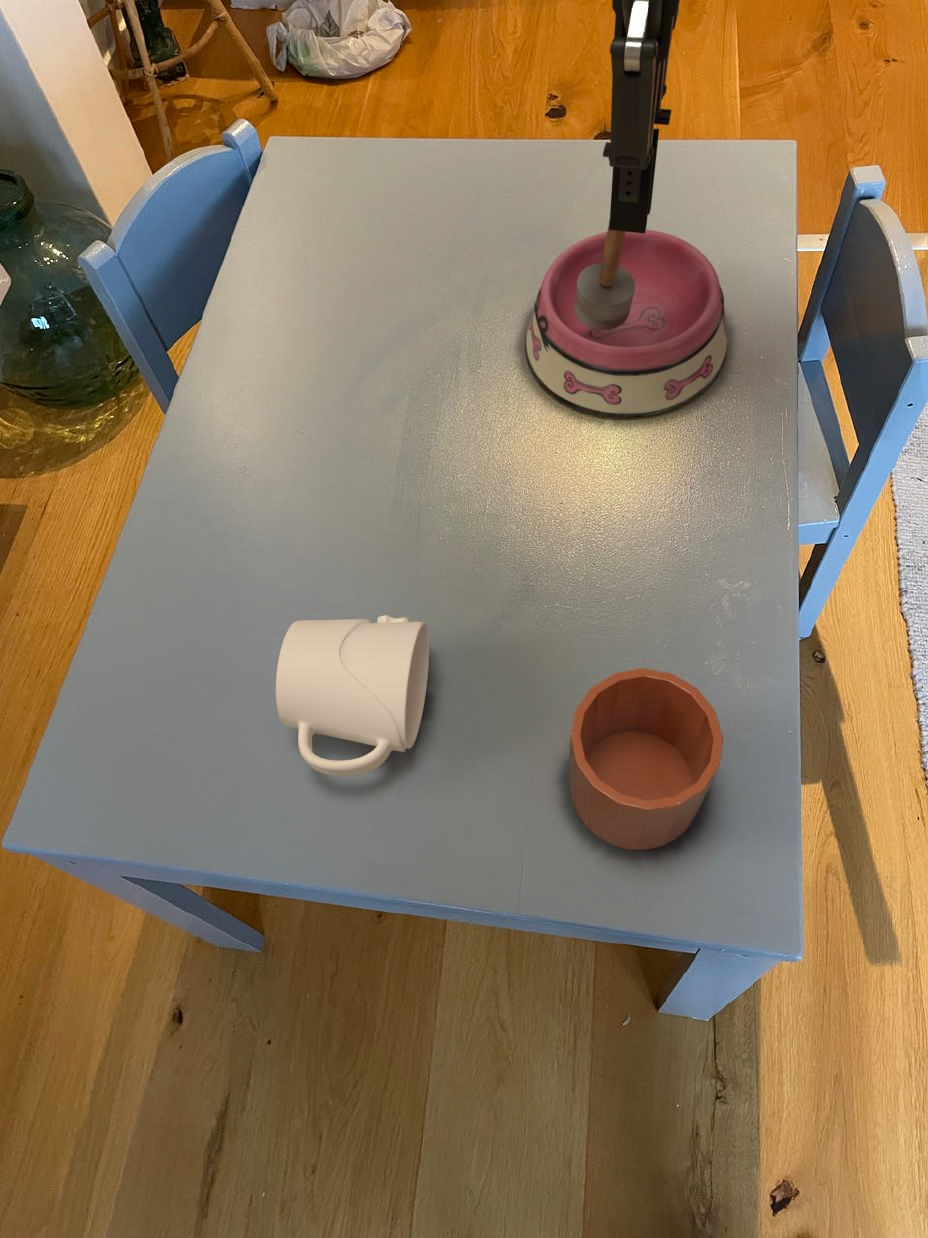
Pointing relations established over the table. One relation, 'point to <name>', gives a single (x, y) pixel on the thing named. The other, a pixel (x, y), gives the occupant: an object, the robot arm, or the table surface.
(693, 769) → the crock
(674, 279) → the dog bowl
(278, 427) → the table surface
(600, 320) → the toilet plunger
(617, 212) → the robot arm
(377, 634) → the mug
